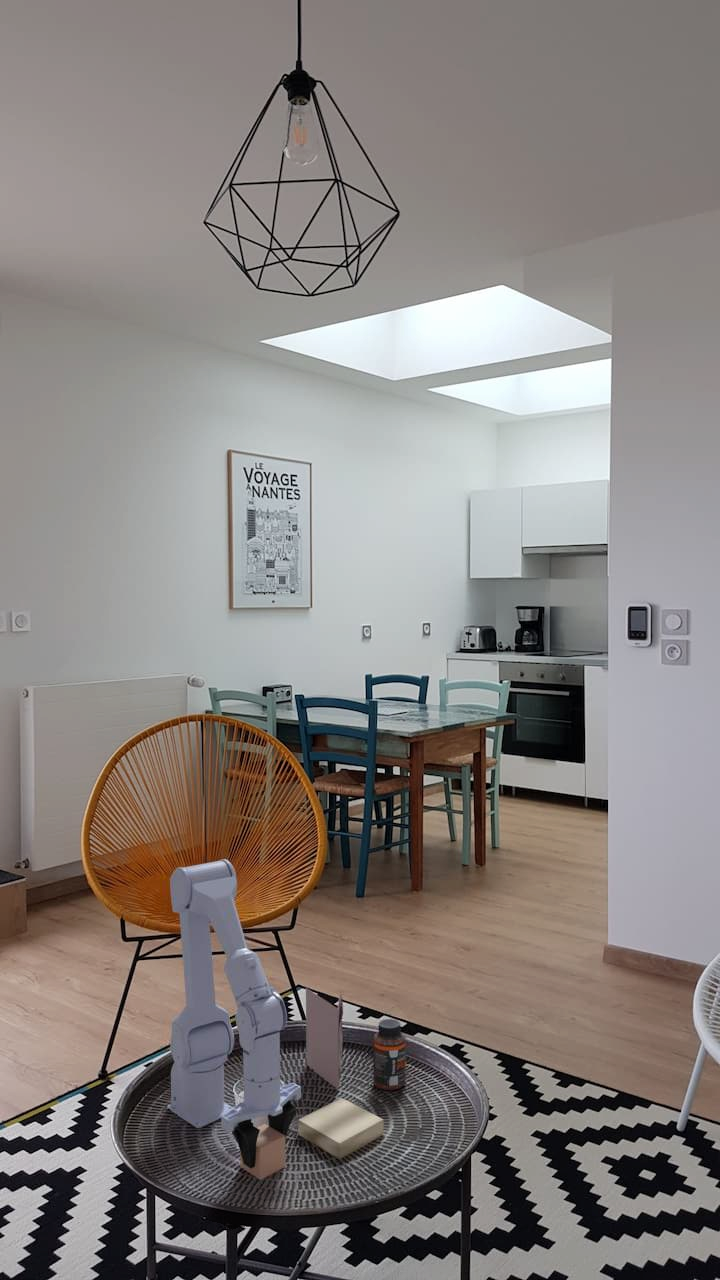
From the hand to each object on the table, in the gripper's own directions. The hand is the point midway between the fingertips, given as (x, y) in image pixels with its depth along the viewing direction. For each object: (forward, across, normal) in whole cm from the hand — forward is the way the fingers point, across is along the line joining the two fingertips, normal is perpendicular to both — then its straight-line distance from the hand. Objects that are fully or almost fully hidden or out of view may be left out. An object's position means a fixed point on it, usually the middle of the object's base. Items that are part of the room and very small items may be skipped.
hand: (262, 1157), depth 157 cm
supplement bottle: (+2, +33, +4) cm, 33 cm away
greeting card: (+2, +27, +15) cm, 31 cm away
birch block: (+2, +15, -2) cm, 15 cm away
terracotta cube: (+1, 0, 0) cm, 1 cm away
